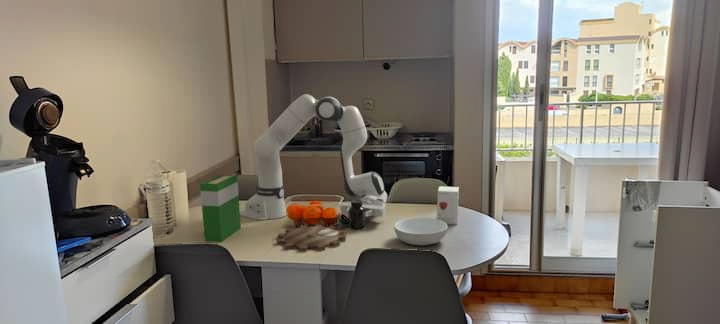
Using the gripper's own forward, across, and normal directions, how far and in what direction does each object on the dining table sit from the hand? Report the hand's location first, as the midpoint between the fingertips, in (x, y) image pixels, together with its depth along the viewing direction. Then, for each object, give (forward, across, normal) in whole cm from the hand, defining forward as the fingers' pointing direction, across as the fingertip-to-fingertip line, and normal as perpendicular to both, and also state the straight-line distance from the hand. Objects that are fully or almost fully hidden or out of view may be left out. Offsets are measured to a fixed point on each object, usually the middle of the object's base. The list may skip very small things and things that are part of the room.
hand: (356, 213), depth 210 cm
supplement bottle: (-1, 0, +7) cm, 7 cm away
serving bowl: (+5, +30, +7) cm, 31 cm away
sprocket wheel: (+18, -12, +7) cm, 23 cm away
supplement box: (-24, +34, +7) cm, 42 cm away
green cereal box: (+26, -50, +7) cm, 57 cm away
